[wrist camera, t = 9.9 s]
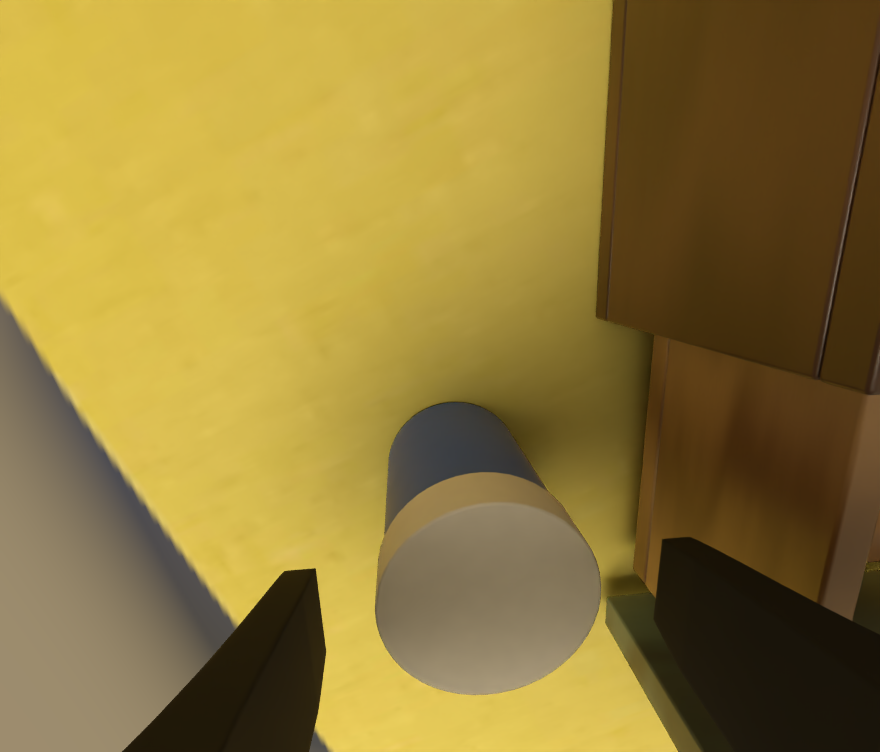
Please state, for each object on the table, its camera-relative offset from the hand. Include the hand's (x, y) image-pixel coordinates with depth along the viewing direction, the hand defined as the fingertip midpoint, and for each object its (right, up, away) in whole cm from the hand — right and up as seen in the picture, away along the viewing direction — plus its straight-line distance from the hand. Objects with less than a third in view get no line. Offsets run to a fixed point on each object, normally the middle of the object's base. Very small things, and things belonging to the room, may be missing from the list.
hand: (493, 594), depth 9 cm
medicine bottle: (-1, +1, +6) cm, 6 cm away
